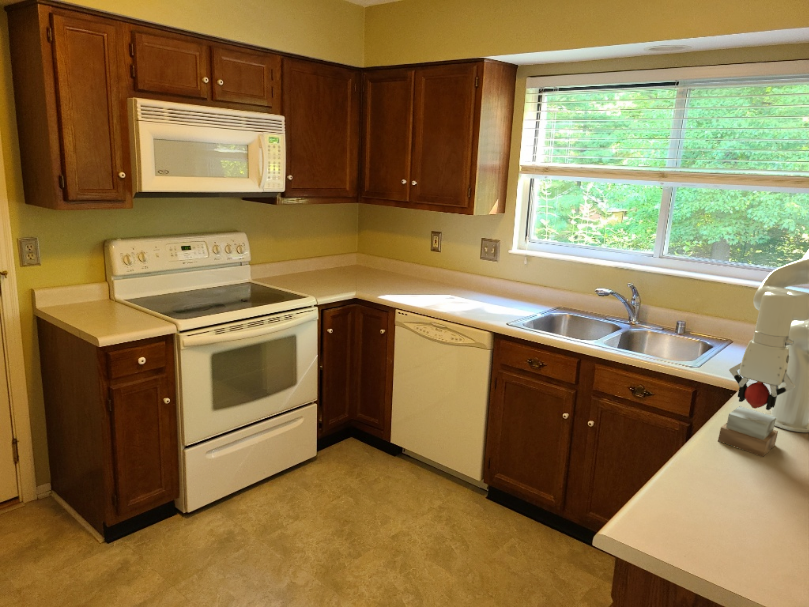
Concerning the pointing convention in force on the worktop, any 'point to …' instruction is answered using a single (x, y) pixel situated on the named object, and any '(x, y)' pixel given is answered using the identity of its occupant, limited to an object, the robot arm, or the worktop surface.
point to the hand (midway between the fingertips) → (755, 404)
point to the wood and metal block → (749, 431)
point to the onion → (757, 394)
